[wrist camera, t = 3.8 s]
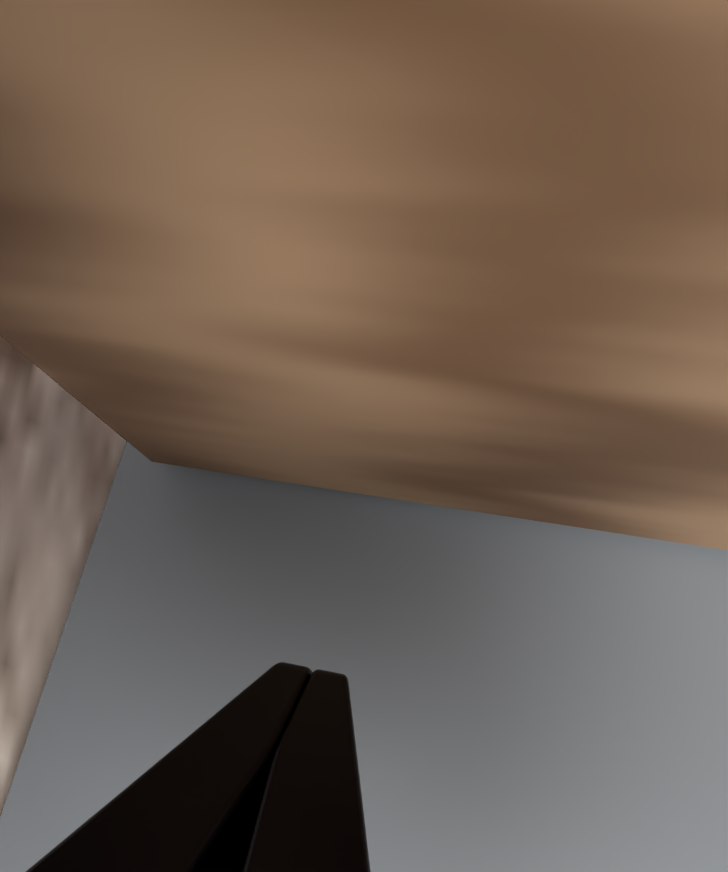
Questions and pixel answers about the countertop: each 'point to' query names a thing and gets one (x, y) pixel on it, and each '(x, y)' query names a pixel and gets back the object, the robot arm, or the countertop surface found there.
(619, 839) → the board
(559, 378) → the panel
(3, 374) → the countertop surface
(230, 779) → the robot arm
